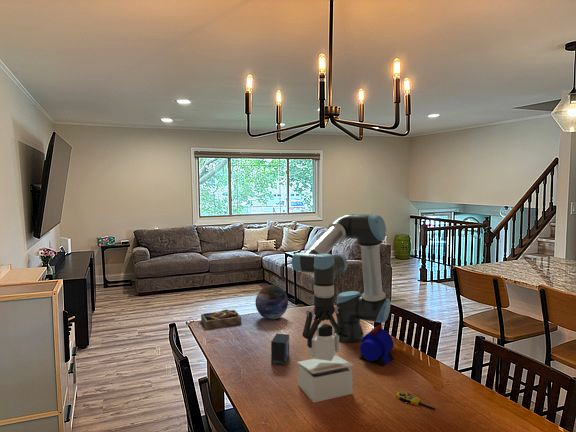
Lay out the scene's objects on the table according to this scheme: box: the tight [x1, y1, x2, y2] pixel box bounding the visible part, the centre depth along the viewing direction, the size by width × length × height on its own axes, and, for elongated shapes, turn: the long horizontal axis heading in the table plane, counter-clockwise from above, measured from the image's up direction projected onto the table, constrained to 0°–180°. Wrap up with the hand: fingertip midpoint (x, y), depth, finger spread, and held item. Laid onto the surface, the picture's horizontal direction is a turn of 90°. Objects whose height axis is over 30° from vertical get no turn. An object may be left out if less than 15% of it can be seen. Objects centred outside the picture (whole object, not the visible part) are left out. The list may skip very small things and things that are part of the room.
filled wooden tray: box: [200, 309, 242, 329], centre depth 242 cm, size 20×15×4 cm
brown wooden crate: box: [205, 309, 238, 321], centre depth 242 cm, size 11×16×5 cm
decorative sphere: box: [255, 284, 289, 321], centre depth 247 cm, size 19×20×20 cm
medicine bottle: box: [312, 323, 337, 361], centre depth 160 cm, size 7×7×12 cm
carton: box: [297, 363, 353, 403], centre depth 161 cm, size 16×14×9 cm
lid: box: [297, 354, 354, 374], centre depth 160 cm, size 17×14×1 cm
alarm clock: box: [359, 324, 395, 367], centre depth 187 cm, size 12×12×15 cm
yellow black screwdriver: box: [395, 391, 436, 411], centre depth 151 cm, size 5×2×15 cm
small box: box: [270, 333, 290, 366], centre depth 188 cm, size 11×6×10 cm, turn 168°
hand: (324, 353), depth 160 cm, fingers closed on medicine bottle, 10 cm apart
